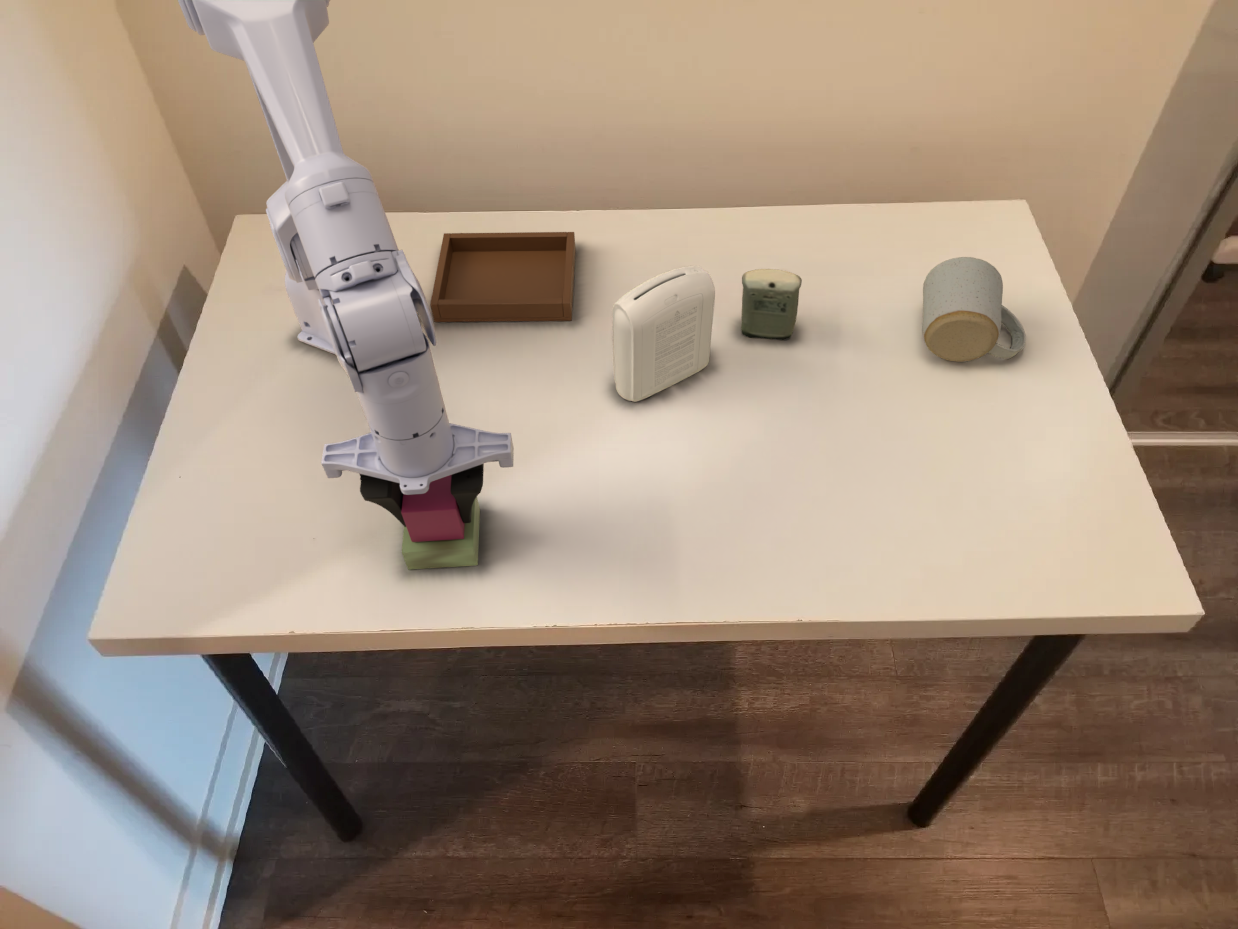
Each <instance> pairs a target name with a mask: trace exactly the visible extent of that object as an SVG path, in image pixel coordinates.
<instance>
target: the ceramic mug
mask: <svg viewBox="0 0 1238 929" xmlns="http://www.w3.org/2000/svg"><path fill="white" fill-rule="evenodd" d="M1003 291H1004V282H1003V278H1002V275H1001V273H1000V272H999V270H998V269H997V268H996V267H995V265H993V264H992V263H990V262H988V261H986V260H983V259H982V258H976V257H972V256H961V257H960V256H959V257H953V258H949V259H946V260H944V261H942V262H940V263H938V264H936V265H935V266H934V267H933V268H932V269H930V271H929V272H928V273H927V275H926V276H925V278H924V281H923V285H922V322H921V324H922V325H921V328H922V329H921V331H922V337H923V340H924V343H925V345H926V347H927V349H928V351H930V352H931V353H932V354H933V355H934V356H936V357H938V358H940V359H943V360H946V361H950V362H957V363H958V362H960V363H961V362H970V361H974V360H977V359H980V358H982V357H984V356H985V355H987V354H988V355H990V356H992V357H995V358H998V359H1002V360H1008V359H1011V358H1013V357H1014V356H1016V355H1017V354H1018V353H1020V352H1021V351H1022V350H1023V349H1024V348H1025V345H1026V340H1027V339H1026V338H1027V336H1026V332H1025V329H1024V326H1023V325H1022V323H1021V321H1020V320H1019V318H1017V316H1016V315H1015V314H1014V313H1013V312H1011V310H1009V308H1007V307H1006V306H1004V305H1003ZM1002 325H1003V326H1004V327H1005V328H1006V330H1007V331H1008V333H1009V335H1010V336H1011V346H1010V348H1009V347H1006V346H1003V345H1002V344H1000V343H998V340H999V338H1000V334H1001V330H1002Z"/></svg>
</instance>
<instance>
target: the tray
mask: <svg viewBox="0 0 1238 929" xmlns="http://www.w3.org/2000/svg"><path fill="white" fill-rule="evenodd" d="M576 250H577V248H576V236H575V231H539V232H538V231H535V232H534V231H533V232H531V231H529V232H527V231H525V232H523V231H522V232H520V231H519V232H449V233H448V232H447V233H446V232H444V233H443V237H442V240H441V246H440V251H439V256H438V262H437V265H436V266H437V267H436V273H435V277H434V281H433V282H434V283H433V288H432V291H431V292H432V293H431V299H430V303H429V305H430V306H429V307H430V311H431V315H432V319H433V323H456V322H457V323H458V322H459V323H461V322H462V323H464V322H465V323H467V322H468V323H471V322H475V323H476V322H567V321H568V322H570V321H571V322H572V319H573V318H572V317H573V305H574V304H573V303H574V302H573V301H574V284H575V266H576V265H575V264H576V252H577V251H576Z"/></svg>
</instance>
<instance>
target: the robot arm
mask: <svg viewBox="0 0 1238 929" xmlns="http://www.w3.org/2000/svg"><path fill="white" fill-rule="evenodd" d="M330 1H331V0H177V2H178V5H179V7H180V10H181V12H182V15H183V17H184V19H185V22H186V24H187V27H188V28H189V29H191V31H193V32H196V33H197V34H198V35H199V36H205V38H206V40H207V43H208V45H209V48H210V49H211V51H213V52H216V53H219V54H221V55H225V56H228V57H231V58H235V59H237V60H241V61H244V63H245V66H246V68H247V71H248V74H249V77H250V80H251V83H252V85H253V89H254V91H255V95H256V96H257V99H258V102H259V105H260V108H261V111H262V114H263V116H264V119H265V122H266V125H267V127H268V130H269V134H270V136H271V139H272V142H273V145H274V148H275V151H276V153H277V156H278V159H279V162H280V165H281V167H282V170H283V173H284V175H285V179H286V181H285V182H284V183H283V184H282V185H280V186H279V188H278V189H277V190H275V191H274V193H273V194H271V196H269V198H268V199H267V200H266V201H265V203H266V204H265V205H266V208H265V214H266V216H267V218H268V222H269V227H270V231H271V233H272V236H273V239H274V241H275V244H276V247H277V249H278V252H279V255H280V258H281V260H282V263H283V265H284V268H285V276H284V287H285V292H286V295H287V297H288V299H289V302H290V304H291V307H292V309H293V312H294V314H295V316H296V319H297V323H298V324H299V327H300V329H301V331H300V332H299V333H298V334H297V337H296V338H297V340H298V341H299V342H302V343H304V344H306V345H309V346H312V347H315V348H317V349H319V350H322V351H325V352H326V353H327V352H328V353H330V354H332V355H335V356H336V358H337V361H338V363H339V364H340V366H341V367H342V369H343V370H344V371H345V373H346V375H347V377H348V379H349V381H350V384H351V386H352V389H353V391H354V393H356V395H357V398H358V401H359V404H360V407H361V409H362V411H363V415H364V417H365V420H366V423H367V425H368V428H369V431H370V432H368V433H365V434H362V435H358V436H356V437H353V438H352V437H351V438H350V439H346V440H342V441H338V442H331V443H324V445H323V450H322V455H321V456H322V457H321V462H320V463H321V466H322V468H323V471H324V473H325V476H326V478H327V479H338V478H341V477H342V475H343V472H346V471H347V472H350V473H356V474H359V480H360V485H359V492H360V495H361V497H362V498H363V500H364V501H365V502H370V503H372V504H375V505H378V506H379V507H382V508H383V509H384V510H386V511H388V512H389V514H391V515H392V516H394V518H396V519H397V521H398V522H399V523H400V524H401V525H402V526H403V528H404V527H406V524H405V522H404V519H403V516H402V513H401V510H402V500H403V494H405V495H413V494H424V493H426V492H427V491H428V490H429V484H430V482H432V481H435V480H438V479H441V478H443V477H446V476H449V475H451V490H450V491H451V494H452V495H453V496H454V498H455V499H456V501H457V504H458V506H459V511H460V516H461V519H462V521H463V523H470V522H471V515H472V505H473V502H474V500H475V498H476V497H477V498H478V496H479V495H480V494H481V492H482V489H483V486H484V469H485V466H484V465H485V464H487V463H491V462H492V463H494V462H495V463H496V462H498V464H499V467H500V468H502V469H503V468H513V467H514V454H515V453H514V449H515V448H514V443H513V437H512V433H511V432H493V431H488V430H483V429H479V428H473V427H470V426H465V425H460V424H456V423H451V422H450V421H449V417H448V412H447V409H446V406H445V400H444V398H443V397H444V396H443V394H442V388H441V386H440V381H439V378H438V374H437V369H436V365H435V361H434V358H433V354H432V350H431V346H430V343H431V344H432V346H433V347H437V338H436V329H435V324H434V323H435V322H434V319H433V315H432V312H431V308H430V306H429V304H428V301H427V297H426V295H425V293H424V290H423V288H422V286H421V283H420V281H419V280H418V278H417V276H416V274H415V273H414V271H413V269H412V268H411V266H410V263H409V261H408V259H407V257H406V254H405V252H404V250H403V249H399V247H398V245H397V242H396V239H395V237H394V233H393V231H392V227H391V225H390V222H389V219H388V217H387V214H386V211H385V209H384V206H383V203H382V200H381V197H380V194H379V192H378V189H377V187H376V186H377V185H376V184H375V181H374V179H373V176H372V173H371V171H370V170H369V169H368V168H367V167H366V166H365V165H362V164H361V163H359V162H357V161H356V160H355V159H352V158H351V157H349V156H348V155H347V154H345V152H344V149H343V147H342V146H343V145H342V142H341V139H340V134H339V132H338V128H337V124H336V121H335V116H334V113H333V110H332V106H331V103H330V99H329V96H328V92H327V88H326V84H325V81H324V77H323V73H322V69H321V66H320V62H319V58H318V55H317V51H316V47H315V44H314V43H315V42H316V40H318V38H319V37H320V36H321V35H322V33H323V32H324V31H325V30H326V29H327V27H328V26H329V24H330V19H329V18H330V17H329V12H328V7H329V6H330ZM420 321H421V322H420ZM421 324H422V326H421ZM422 327H423V329H424V331H425V333H426V335H425V333H424V332H423V329H422ZM429 341H430V342H429Z"/></svg>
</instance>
